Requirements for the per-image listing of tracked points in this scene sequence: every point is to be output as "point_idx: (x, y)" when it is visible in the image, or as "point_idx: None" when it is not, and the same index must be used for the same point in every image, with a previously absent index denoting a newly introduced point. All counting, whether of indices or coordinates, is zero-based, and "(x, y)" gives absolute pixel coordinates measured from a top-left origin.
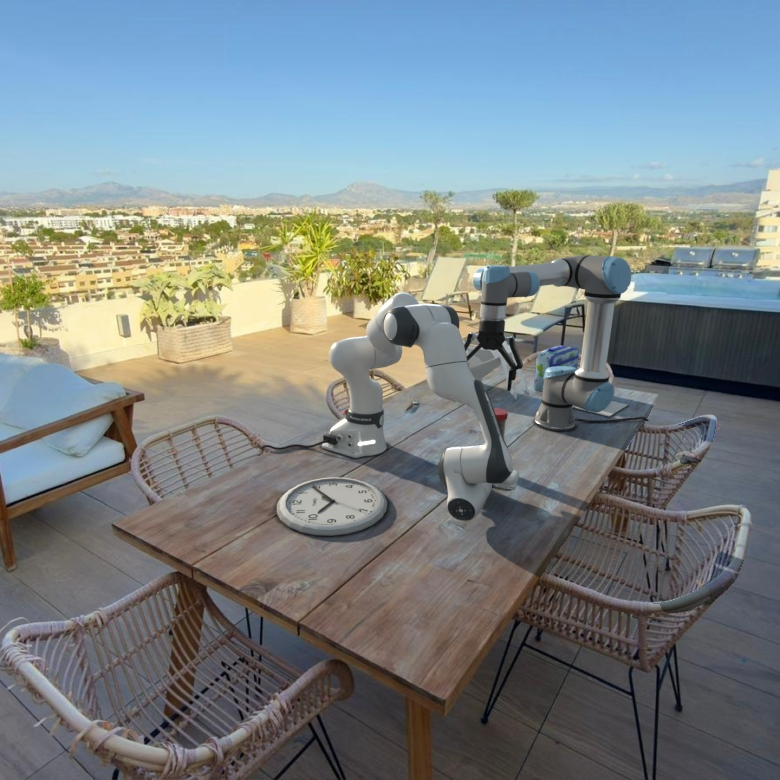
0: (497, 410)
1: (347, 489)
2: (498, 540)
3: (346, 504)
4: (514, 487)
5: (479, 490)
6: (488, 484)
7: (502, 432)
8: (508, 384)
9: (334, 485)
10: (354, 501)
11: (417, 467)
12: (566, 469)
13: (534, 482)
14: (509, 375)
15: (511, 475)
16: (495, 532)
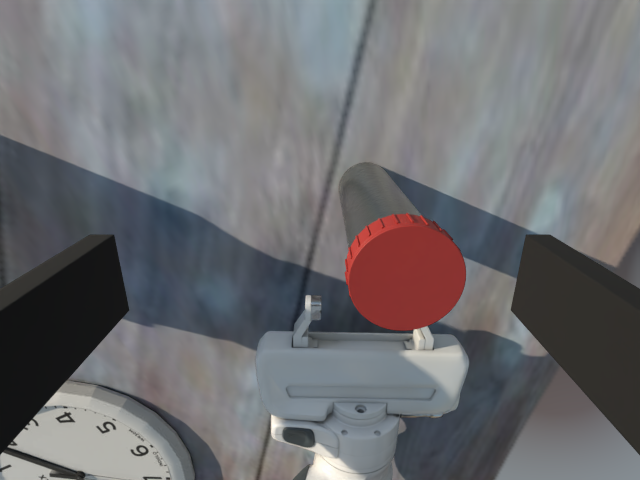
0: (404, 264)
1: (71, 429)
2: (417, 463)
3: (110, 474)
4: (455, 409)
5: None
6: (394, 454)
7: None
8: (552, 350)
9: (33, 425)
10: (116, 460)
11: (148, 251)
12: (612, 70)
13: (493, 213)
14: (628, 428)
15: (449, 391)
16: (409, 445)
